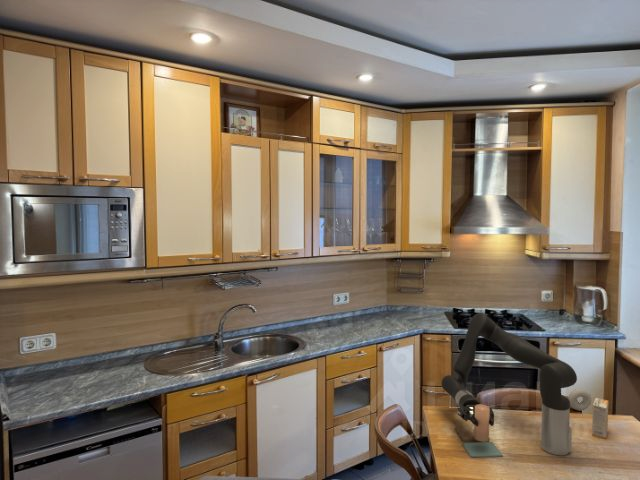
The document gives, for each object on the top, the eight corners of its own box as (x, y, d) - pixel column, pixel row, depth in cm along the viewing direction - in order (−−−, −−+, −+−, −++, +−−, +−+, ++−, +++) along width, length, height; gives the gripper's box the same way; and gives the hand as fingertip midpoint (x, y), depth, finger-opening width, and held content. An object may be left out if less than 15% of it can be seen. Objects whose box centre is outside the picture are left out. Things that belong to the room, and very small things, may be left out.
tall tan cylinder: (485, 434, 162) (486, 404, 161) (491, 441, 157) (492, 410, 156) (471, 434, 162) (472, 404, 161) (477, 441, 157) (478, 411, 156)
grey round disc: (570, 412, 190) (571, 390, 189) (566, 408, 193) (566, 387, 192) (592, 412, 189) (593, 390, 189) (588, 408, 193) (588, 387, 192)
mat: (492, 443, 164) (492, 441, 164) (503, 456, 155) (503, 455, 155) (461, 444, 164) (461, 442, 164) (471, 457, 155) (471, 456, 155)
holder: (478, 429, 175) (478, 426, 175) (489, 442, 165) (489, 438, 165) (454, 430, 174) (454, 426, 174) (463, 443, 165) (463, 439, 164)
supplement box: (593, 427, 176) (595, 397, 175) (607, 431, 173) (608, 400, 172) (591, 435, 169) (592, 404, 169) (605, 439, 166) (606, 407, 165)
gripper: (450, 394, 173) (466, 414, 156) (484, 393, 173) (504, 413, 156) (450, 411, 173) (465, 433, 156) (484, 411, 174) (503, 433, 157)
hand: (484, 423), depth 156 cm, fingers closed on tall tan cylinder, 5 cm apart
